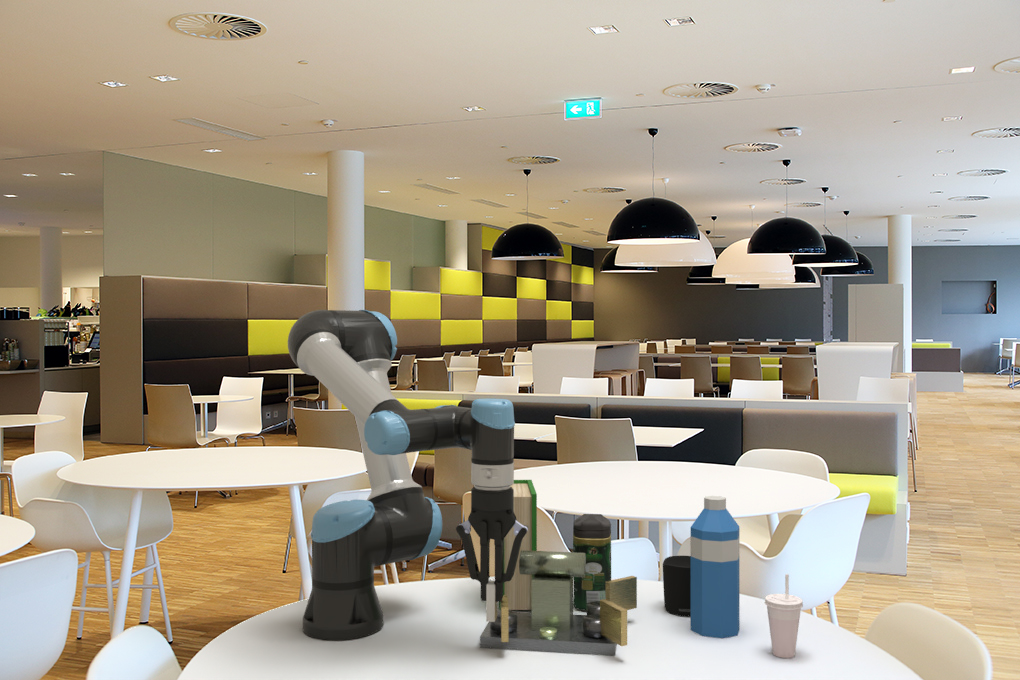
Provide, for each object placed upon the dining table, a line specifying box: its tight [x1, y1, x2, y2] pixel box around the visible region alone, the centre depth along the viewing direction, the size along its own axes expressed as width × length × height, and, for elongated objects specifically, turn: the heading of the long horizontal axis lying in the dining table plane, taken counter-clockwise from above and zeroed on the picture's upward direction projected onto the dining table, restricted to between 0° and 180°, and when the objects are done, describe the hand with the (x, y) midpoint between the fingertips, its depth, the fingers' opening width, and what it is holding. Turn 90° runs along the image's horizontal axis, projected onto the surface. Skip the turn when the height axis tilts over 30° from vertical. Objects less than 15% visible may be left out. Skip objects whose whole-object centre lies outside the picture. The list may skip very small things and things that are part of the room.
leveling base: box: [479, 550, 618, 656], centre depth 162 cm, size 24×15×15 cm, turn 80°
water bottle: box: [690, 495, 741, 639], centre depth 166 cm, size 9×9×25 cm
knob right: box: [583, 599, 628, 647], centre depth 154 cm, size 12×5×6 cm, turn 25°
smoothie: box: [764, 573, 804, 659], centre depth 153 cm, size 6×6×14 cm
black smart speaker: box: [662, 555, 691, 618], centre depth 177 cm, size 9×9×10 cm
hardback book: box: [498, 479, 538, 611], centre depth 184 cm, size 18×7×24 cm, turn 2°
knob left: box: [490, 595, 518, 642], centre depth 157 cm, size 12×5×6 cm, turn 2°
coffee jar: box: [572, 513, 612, 611], centre depth 180 cm, size 10×8×19 cm
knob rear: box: [585, 575, 638, 616], centre depth 167 cm, size 12×5×6 cm, turn 126°
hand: (491, 619), depth 155 cm, fingers closed
